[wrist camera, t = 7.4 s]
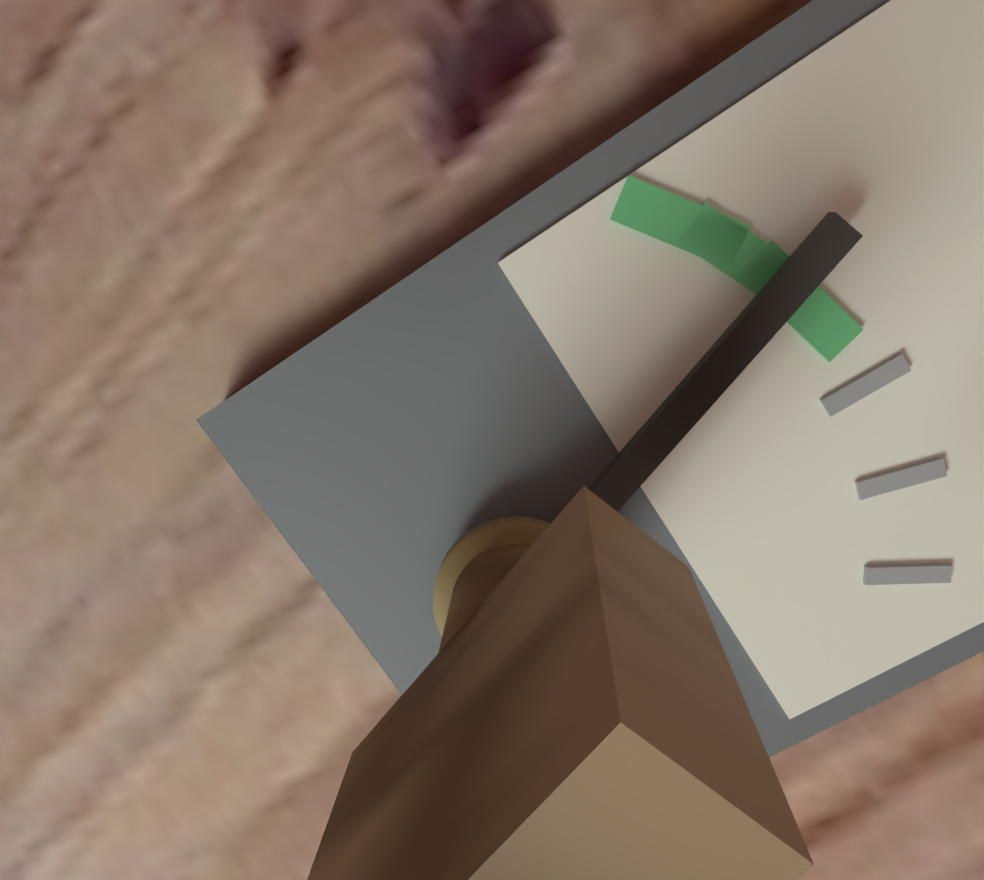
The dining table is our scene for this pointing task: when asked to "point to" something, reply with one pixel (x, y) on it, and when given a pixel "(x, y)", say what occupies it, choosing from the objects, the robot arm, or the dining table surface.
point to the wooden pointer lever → (582, 688)
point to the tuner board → (670, 357)
